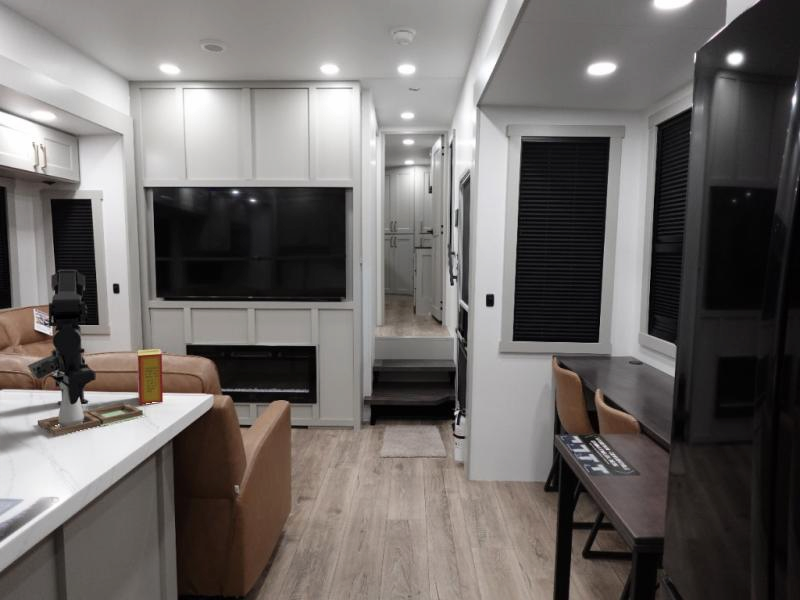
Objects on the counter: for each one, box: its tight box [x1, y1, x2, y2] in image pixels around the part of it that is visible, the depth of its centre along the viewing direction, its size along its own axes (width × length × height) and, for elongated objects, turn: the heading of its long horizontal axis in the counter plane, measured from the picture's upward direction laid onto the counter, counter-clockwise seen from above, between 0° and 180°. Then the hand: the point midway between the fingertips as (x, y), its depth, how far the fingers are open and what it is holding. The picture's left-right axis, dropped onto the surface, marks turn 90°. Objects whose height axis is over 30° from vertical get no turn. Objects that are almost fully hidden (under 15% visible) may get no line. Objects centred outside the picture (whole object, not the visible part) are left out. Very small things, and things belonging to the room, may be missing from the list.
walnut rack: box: [37, 402, 144, 438], centre depth 134 cm, size 13×21×2 cm, turn 143°
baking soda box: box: [136, 348, 164, 406], centre depth 153 cm, size 10×6×16 cm
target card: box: [99, 410, 147, 427], centre depth 137 cm, size 12×12×1 cm
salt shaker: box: [58, 380, 84, 428], centre depth 128 cm, size 6×6×13 cm
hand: (70, 403), depth 128 cm, fingers closed on salt shaker, 3 cm apart
